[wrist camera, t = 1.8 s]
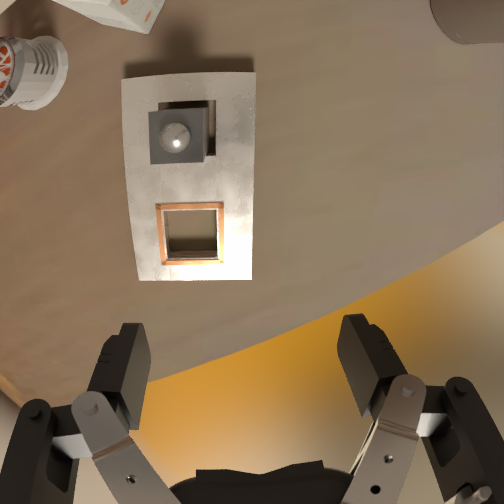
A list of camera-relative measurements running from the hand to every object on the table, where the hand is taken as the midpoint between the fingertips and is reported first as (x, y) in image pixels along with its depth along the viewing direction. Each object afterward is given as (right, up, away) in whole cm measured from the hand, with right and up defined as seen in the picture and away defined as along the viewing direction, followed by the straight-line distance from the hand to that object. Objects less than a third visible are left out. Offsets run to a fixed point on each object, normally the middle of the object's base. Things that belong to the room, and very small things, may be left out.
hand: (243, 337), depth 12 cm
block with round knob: (-7, +17, +20) cm, 27 cm away
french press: (-26, +26, +14) cm, 39 cm away
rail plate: (-7, +12, +23) cm, 27 cm away
